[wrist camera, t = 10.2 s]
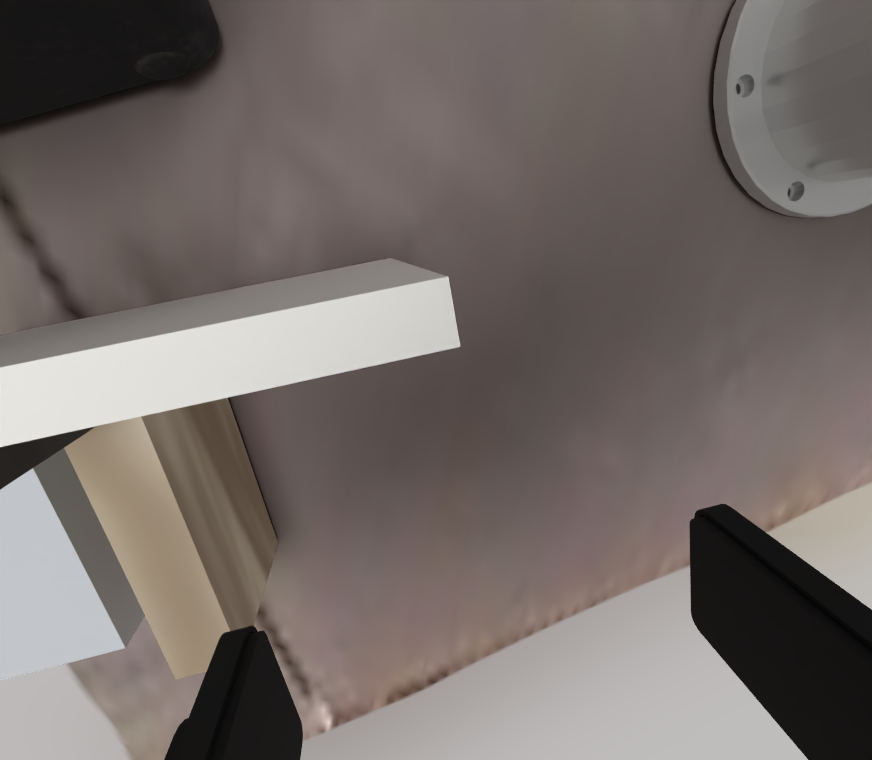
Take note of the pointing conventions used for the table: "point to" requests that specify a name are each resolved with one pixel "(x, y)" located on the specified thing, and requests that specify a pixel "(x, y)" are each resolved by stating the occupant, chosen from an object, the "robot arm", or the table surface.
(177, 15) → the voltmeter
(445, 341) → the white board with blocks
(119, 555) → the tall beige wooden block
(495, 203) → the table surface
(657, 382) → the table surface
